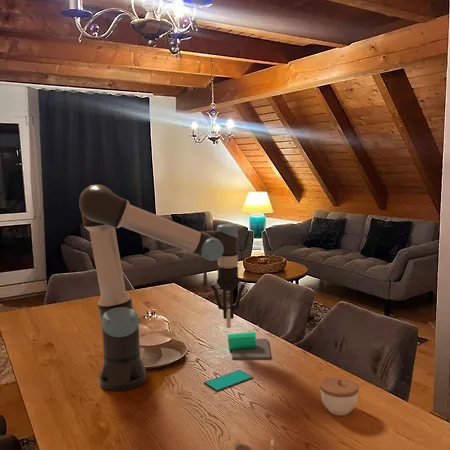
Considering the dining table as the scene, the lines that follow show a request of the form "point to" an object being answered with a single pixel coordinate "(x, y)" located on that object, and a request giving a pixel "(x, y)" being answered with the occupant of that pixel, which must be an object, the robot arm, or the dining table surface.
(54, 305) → the dining table surface
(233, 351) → the mat
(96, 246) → the robot arm
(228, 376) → the smartphone
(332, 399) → the lidded jar
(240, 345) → the candle
